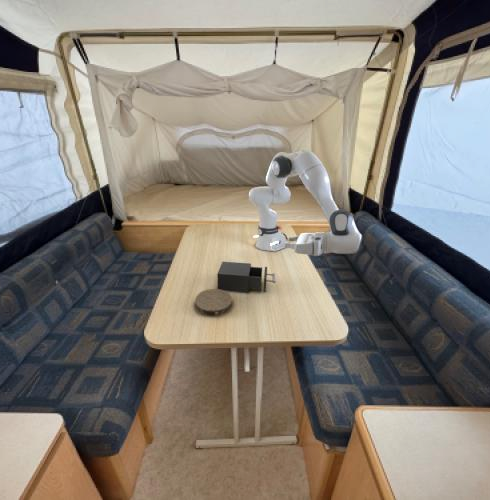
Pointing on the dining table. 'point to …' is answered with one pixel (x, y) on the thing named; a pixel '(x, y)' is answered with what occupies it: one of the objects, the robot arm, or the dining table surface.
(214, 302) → the round wood slice
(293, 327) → the dining table surface
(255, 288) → the drawer
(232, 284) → the cabinet
